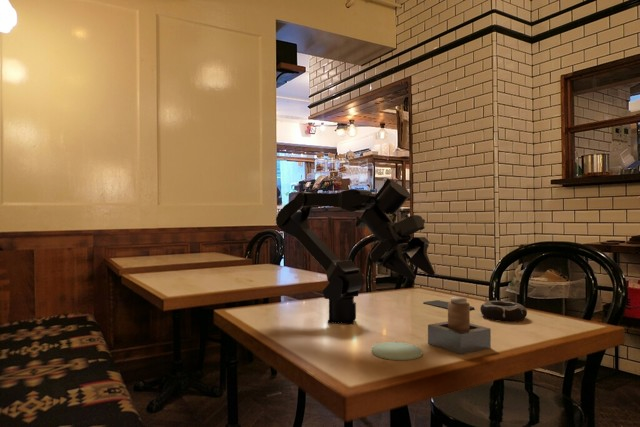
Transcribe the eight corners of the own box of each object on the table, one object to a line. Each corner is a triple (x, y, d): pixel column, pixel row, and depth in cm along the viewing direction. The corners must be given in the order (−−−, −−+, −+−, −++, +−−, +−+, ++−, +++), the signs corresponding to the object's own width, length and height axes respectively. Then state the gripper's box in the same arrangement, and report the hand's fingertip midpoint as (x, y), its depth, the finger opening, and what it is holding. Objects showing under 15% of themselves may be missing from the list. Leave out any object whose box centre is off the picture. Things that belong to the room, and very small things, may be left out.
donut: (472, 317, 119) (472, 303, 119) (493, 311, 126) (493, 297, 127) (514, 325, 110) (514, 310, 110) (534, 318, 118) (534, 304, 118)
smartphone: (437, 299, 142) (476, 307, 129) (437, 302, 141) (476, 310, 129) (421, 302, 138) (459, 309, 125) (421, 305, 138) (459, 313, 125)
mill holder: (460, 354, 86) (460, 334, 86) (427, 343, 94) (427, 324, 94) (490, 347, 91) (490, 328, 91) (457, 337, 98) (457, 319, 98)
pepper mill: (449, 348, 90) (449, 300, 91) (446, 342, 95) (446, 296, 95) (471, 349, 90) (471, 300, 90) (467, 343, 94) (467, 296, 94)
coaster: (370, 358, 83) (370, 355, 83) (372, 343, 93) (372, 341, 93) (423, 361, 82) (423, 358, 82) (420, 346, 92) (420, 343, 92)
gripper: (381, 202, 95) (427, 255, 87) (421, 204, 109) (465, 250, 101) (352, 237, 100) (394, 290, 92) (394, 235, 114) (434, 281, 106)
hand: (424, 276), depth 98 cm, fingers open, 9 cm apart
